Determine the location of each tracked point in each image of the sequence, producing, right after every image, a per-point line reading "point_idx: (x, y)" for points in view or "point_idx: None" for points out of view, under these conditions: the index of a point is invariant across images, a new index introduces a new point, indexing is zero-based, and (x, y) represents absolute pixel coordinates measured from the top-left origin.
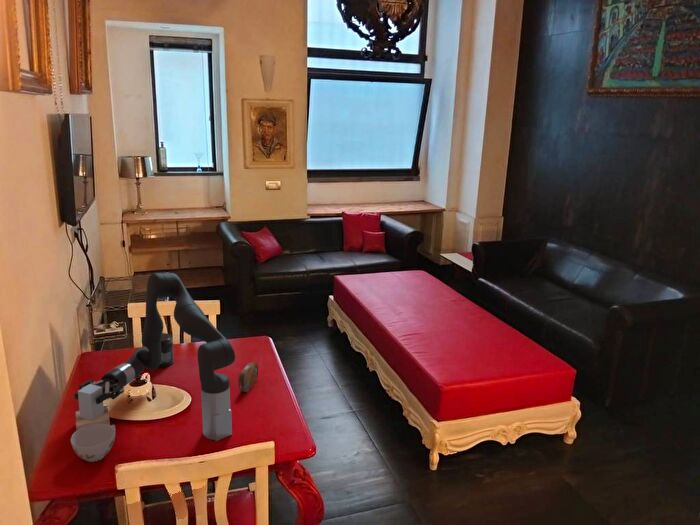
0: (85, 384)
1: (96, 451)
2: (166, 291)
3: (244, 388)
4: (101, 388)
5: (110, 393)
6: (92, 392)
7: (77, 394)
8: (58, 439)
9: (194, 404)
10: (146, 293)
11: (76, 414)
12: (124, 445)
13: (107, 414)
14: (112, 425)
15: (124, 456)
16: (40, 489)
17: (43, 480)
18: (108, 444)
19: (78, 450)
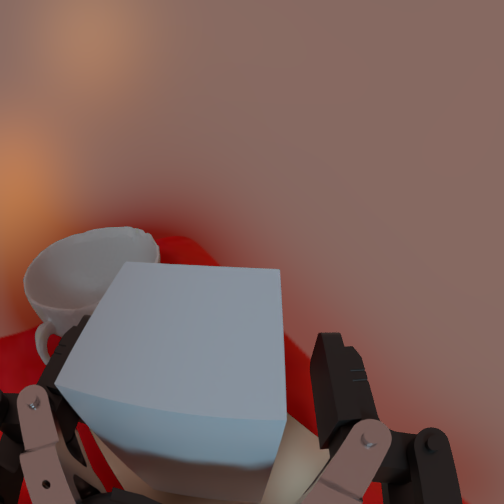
0: (420, 496)
1: (75, 255)
2: None
3: None
4: (66, 383)
5: (13, 409)
6: (121, 282)
7: (320, 347)
8: (297, 374)
9: None
10: None
11: (314, 438)
12: (38, 378)
13: (124, 478)
14: (38, 328)
15: (32, 334)
16: (182, 242)
17: (194, 255)
18: (45, 267)
19: (120, 242)
